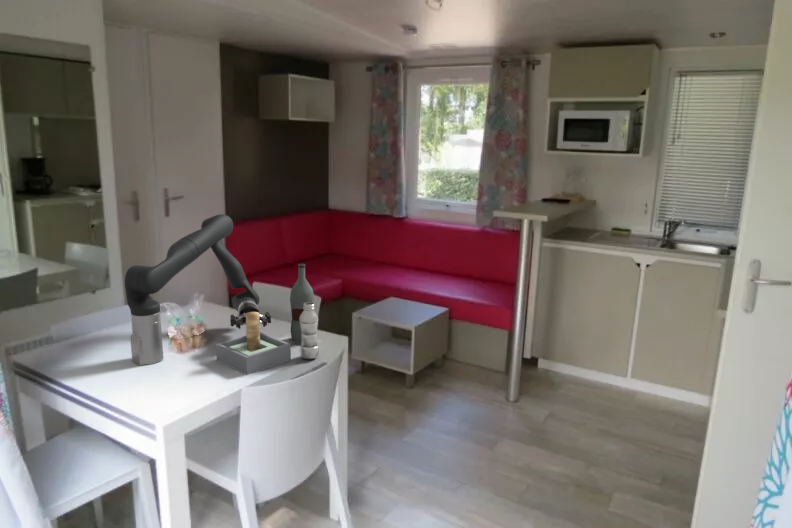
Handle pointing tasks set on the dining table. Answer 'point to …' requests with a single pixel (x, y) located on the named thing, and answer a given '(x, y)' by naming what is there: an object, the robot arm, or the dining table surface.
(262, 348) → the plate
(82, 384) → the dining table surface
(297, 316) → the vodka
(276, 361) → the box
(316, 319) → the plastic bottle
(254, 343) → the peg
